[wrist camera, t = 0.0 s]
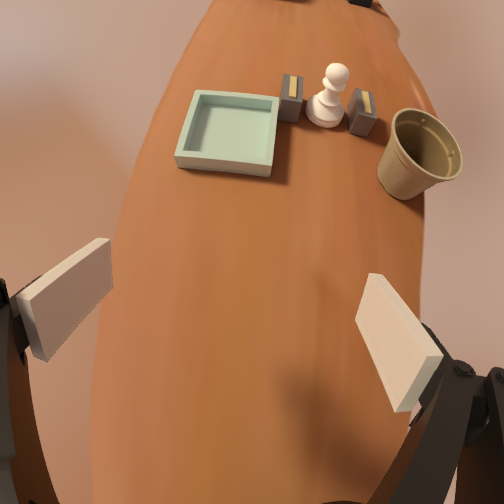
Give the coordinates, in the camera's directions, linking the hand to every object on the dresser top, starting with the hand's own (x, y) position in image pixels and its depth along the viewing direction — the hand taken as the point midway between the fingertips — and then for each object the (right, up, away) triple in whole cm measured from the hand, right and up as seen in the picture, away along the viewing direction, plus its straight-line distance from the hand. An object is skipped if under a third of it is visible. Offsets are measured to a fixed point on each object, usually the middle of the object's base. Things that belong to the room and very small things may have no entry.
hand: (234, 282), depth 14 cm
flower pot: (+19, +11, +20) cm, 30 cm away
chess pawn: (+10, +20, +22) cm, 31 cm away
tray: (-2, +16, +20) cm, 26 cm away
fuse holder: (+10, +20, +22) cm, 31 cm away
